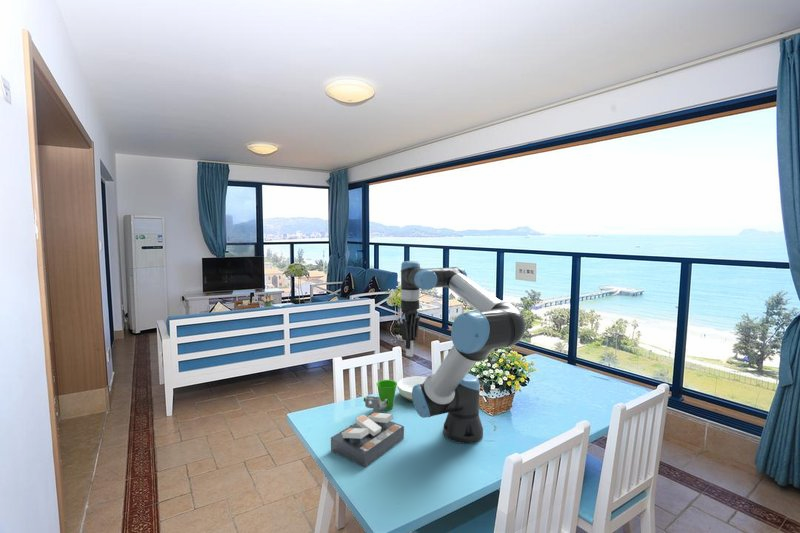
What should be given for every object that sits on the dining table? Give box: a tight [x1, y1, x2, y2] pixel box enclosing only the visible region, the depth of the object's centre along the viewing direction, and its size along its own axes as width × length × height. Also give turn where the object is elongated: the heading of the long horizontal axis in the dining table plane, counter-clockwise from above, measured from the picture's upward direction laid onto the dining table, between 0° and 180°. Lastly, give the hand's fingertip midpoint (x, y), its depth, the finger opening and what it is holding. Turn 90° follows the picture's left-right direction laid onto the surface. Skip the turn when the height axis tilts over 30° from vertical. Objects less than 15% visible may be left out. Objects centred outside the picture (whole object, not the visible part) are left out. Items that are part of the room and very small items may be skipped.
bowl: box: [396, 375, 428, 402], centre depth 183 cm, size 20×20×6 cm
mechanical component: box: [363, 395, 389, 413], centre depth 158 cm, size 3×10×10 cm, turn 78°
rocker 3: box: [367, 412, 394, 423], centre depth 147 cm, size 9×4×2 cm, turn 54°
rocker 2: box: [354, 414, 382, 436], centre depth 141 cm, size 9×4×2 cm, turn 54°
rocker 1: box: [342, 428, 369, 439], centre depth 136 cm, size 9×4×2 cm, turn 54°
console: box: [330, 413, 405, 468], centre depth 142 cm, size 16×22×6 cm
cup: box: [376, 379, 398, 411], centre depth 171 cm, size 9×9×11 cm
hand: (409, 355), depth 160 cm, fingers closed
